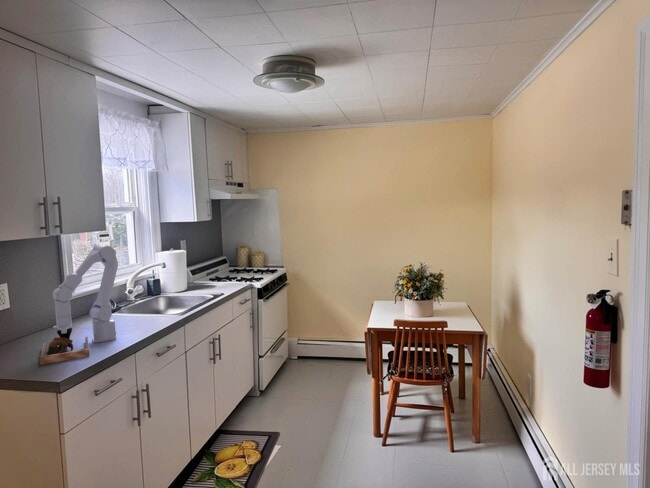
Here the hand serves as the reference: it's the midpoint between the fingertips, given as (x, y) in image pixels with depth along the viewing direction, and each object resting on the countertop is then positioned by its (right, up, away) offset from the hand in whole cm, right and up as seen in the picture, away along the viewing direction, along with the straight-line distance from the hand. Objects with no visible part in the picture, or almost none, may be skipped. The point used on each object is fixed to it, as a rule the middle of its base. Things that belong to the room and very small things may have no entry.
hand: (65, 345), depth 189 cm
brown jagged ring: (+2, -2, -7) cm, 8 cm away
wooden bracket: (+3, -2, -4) cm, 5 cm away
